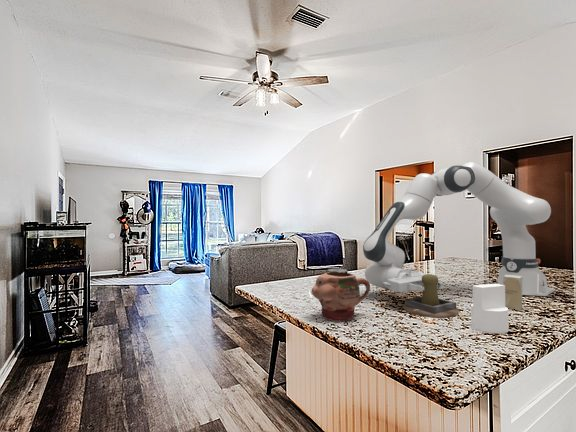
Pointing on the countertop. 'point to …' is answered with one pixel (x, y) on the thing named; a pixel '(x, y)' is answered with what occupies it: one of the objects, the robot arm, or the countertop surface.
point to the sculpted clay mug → (339, 294)
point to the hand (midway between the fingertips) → (432, 287)
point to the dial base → (431, 308)
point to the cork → (430, 290)
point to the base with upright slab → (489, 309)
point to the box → (513, 291)
